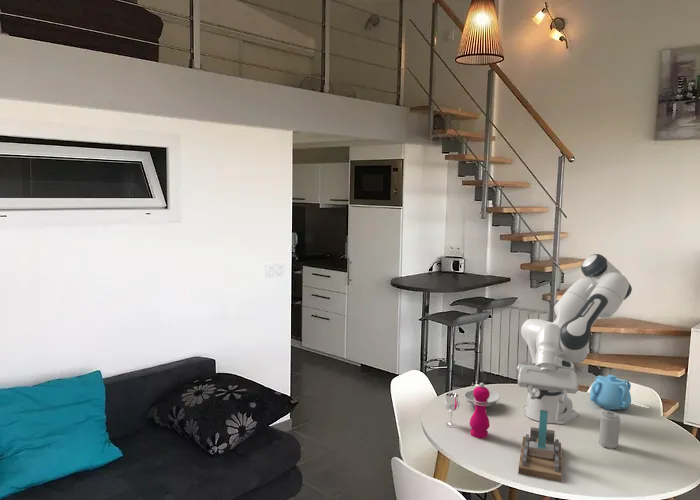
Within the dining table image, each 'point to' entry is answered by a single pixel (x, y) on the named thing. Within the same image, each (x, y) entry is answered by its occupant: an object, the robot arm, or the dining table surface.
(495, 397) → the dish
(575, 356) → the robot arm
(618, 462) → the dining table surface
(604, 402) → the decorative pot
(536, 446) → the track slider block
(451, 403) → the wineglass
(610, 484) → the dining table surface
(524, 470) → the tray
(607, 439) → the beverage can
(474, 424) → the pepper mill
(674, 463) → the dining table surface
